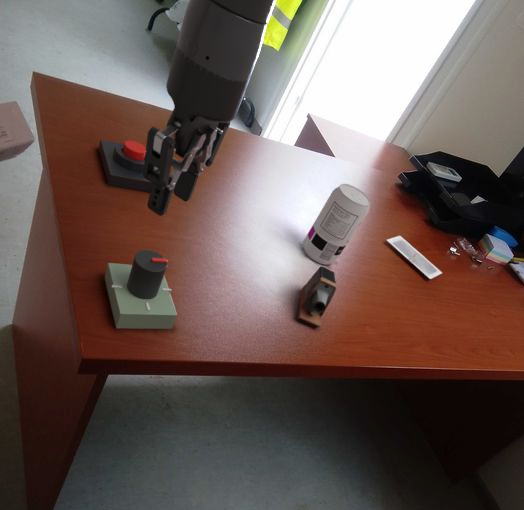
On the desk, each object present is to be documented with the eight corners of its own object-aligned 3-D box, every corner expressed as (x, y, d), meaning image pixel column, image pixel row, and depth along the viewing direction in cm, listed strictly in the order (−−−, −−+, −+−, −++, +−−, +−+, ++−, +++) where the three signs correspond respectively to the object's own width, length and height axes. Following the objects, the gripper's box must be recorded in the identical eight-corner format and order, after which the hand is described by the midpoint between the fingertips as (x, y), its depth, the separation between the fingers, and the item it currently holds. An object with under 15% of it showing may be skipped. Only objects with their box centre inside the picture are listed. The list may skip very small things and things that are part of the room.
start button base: (98, 149, 89) (101, 130, 87) (148, 160, 95) (153, 142, 92) (108, 185, 83) (112, 165, 80) (161, 194, 88) (166, 176, 86)
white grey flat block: (397, 238, 122) (402, 232, 120) (439, 276, 117) (445, 269, 116) (383, 243, 116) (388, 236, 115) (427, 282, 112) (433, 276, 110)
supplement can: (295, 240, 98) (329, 179, 88) (323, 242, 103) (359, 185, 93) (311, 265, 94) (350, 204, 84) (340, 267, 99) (380, 209, 89)
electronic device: (295, 321, 80) (316, 290, 75) (299, 290, 87) (318, 259, 82) (317, 331, 81) (339, 301, 76) (319, 299, 88) (340, 270, 83)
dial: (131, 299, 63) (140, 269, 59) (123, 277, 65) (131, 247, 61) (161, 299, 65) (171, 270, 61) (153, 278, 67) (162, 249, 64)
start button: (121, 146, 87) (122, 138, 85) (142, 151, 89) (144, 143, 87) (125, 158, 84) (126, 149, 83) (146, 162, 87) (148, 154, 85)
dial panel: (102, 277, 67) (106, 261, 65) (158, 281, 72) (163, 266, 70) (113, 328, 62) (118, 312, 60) (173, 329, 67) (179, 314, 65)
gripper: (212, 85, 39) (161, 242, 50) (274, 71, 49) (221, 203, 61) (140, 37, 39) (105, 205, 50) (217, 34, 50) (175, 172, 61)
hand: (169, 203), depth 55 cm, fingers open, 5 cm apart
